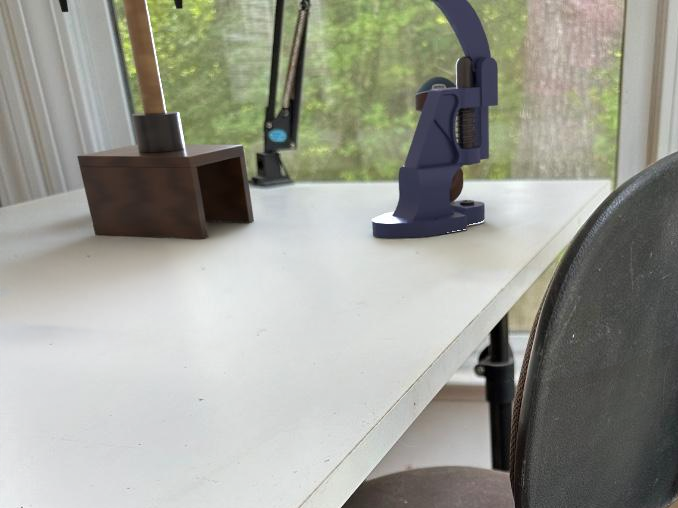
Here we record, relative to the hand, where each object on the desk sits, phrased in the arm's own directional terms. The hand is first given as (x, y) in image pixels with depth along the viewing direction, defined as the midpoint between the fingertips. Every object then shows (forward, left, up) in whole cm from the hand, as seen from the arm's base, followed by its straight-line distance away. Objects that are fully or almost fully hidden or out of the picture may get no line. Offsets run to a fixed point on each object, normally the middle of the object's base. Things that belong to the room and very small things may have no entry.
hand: (122, 1), depth 109 cm
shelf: (+6, -6, -25) cm, 26 cm away
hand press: (+39, -1, -25) cm, 46 cm away
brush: (+6, -6, -16) cm, 18 cm away
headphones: (+34, +17, -25) cm, 45 cm away
